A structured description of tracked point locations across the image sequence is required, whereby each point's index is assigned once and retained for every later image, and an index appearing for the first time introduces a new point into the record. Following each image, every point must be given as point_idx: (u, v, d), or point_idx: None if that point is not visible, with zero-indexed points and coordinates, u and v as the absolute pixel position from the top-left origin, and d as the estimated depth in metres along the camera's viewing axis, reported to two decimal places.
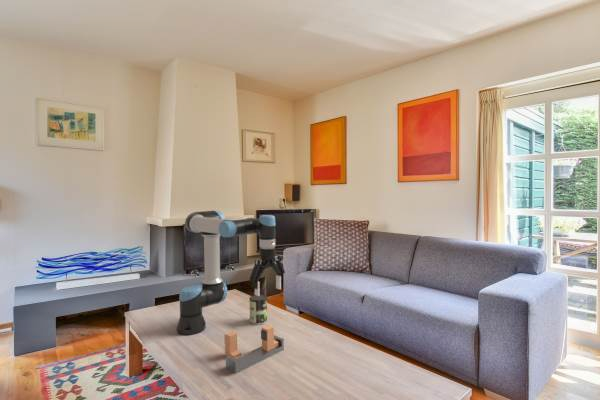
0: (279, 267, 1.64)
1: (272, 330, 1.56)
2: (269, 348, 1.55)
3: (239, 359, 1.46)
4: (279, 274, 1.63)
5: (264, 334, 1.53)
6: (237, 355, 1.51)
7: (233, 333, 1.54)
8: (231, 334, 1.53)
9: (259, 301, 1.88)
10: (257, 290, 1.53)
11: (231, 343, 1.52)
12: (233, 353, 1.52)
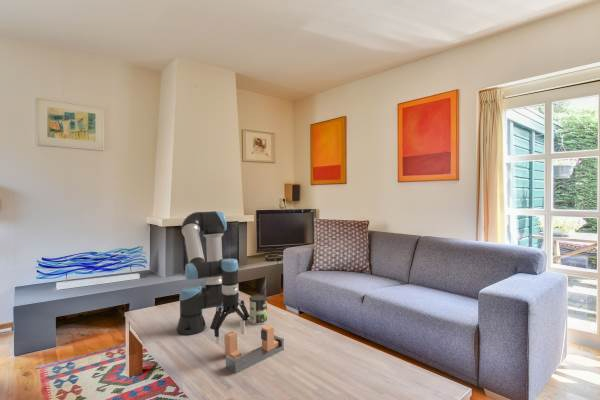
0: (243, 311, 1.59)
1: (272, 330, 1.56)
2: (269, 348, 1.55)
3: (239, 359, 1.46)
4: (243, 319, 1.59)
5: (264, 334, 1.53)
6: (237, 355, 1.51)
7: (233, 333, 1.54)
8: (231, 334, 1.53)
9: (259, 301, 1.88)
10: (218, 338, 1.48)
11: (231, 343, 1.52)
12: (233, 353, 1.52)
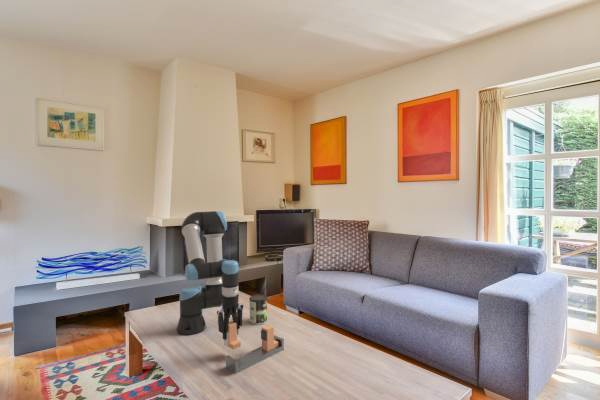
0: (238, 317, 1.58)
1: (272, 330, 1.56)
2: (269, 348, 1.55)
3: (239, 359, 1.46)
4: None
5: (264, 334, 1.53)
6: (236, 344, 1.52)
7: (233, 323, 1.55)
8: (231, 324, 1.54)
9: (259, 301, 1.88)
10: (226, 341, 1.52)
11: (231, 332, 1.53)
12: (232, 342, 1.52)
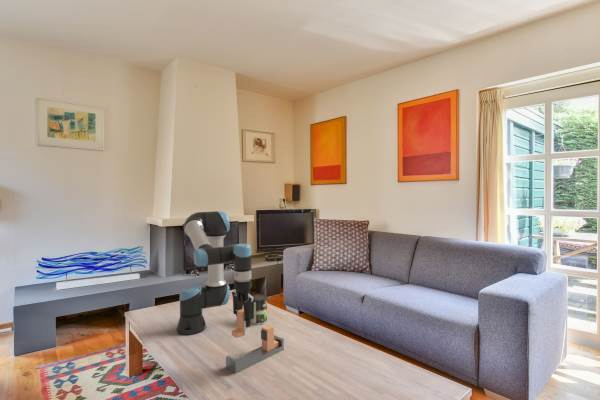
0: None
1: (272, 330, 1.56)
2: (269, 348, 1.55)
3: (239, 359, 1.46)
4: None
5: (264, 334, 1.53)
6: (234, 333, 1.42)
7: (243, 311, 1.44)
8: (241, 310, 1.45)
9: (259, 301, 1.88)
10: None
11: (238, 318, 1.45)
12: (236, 330, 1.44)
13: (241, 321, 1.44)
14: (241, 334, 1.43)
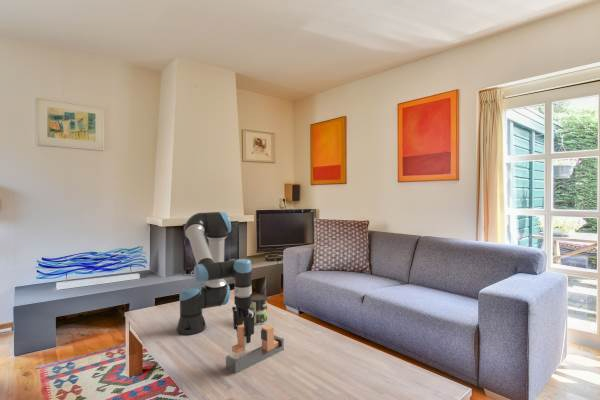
0: None
1: (272, 330, 1.56)
2: (269, 348, 1.55)
3: (239, 359, 1.46)
4: None
5: (264, 334, 1.53)
6: (234, 349, 1.42)
7: (243, 327, 1.45)
8: (241, 326, 1.45)
9: (259, 301, 1.88)
10: None
11: (238, 334, 1.45)
12: (237, 345, 1.44)
13: (241, 337, 1.44)
14: (241, 350, 1.43)
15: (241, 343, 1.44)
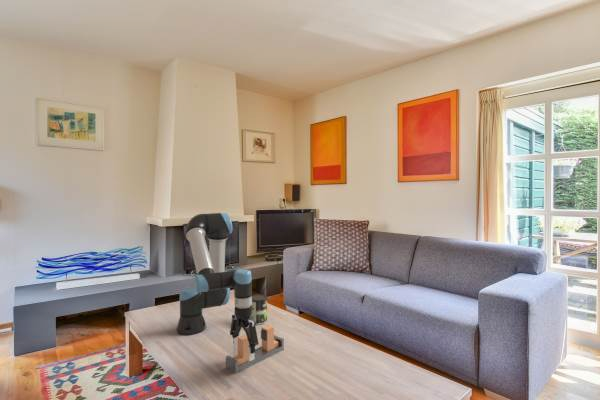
0: None
1: (272, 330, 1.56)
2: (269, 348, 1.55)
3: None
4: None
5: (264, 334, 1.53)
6: None
7: (243, 338, 1.45)
8: (241, 337, 1.46)
9: (259, 301, 1.88)
10: None
11: (238, 345, 1.45)
12: (237, 356, 1.45)
13: (241, 348, 1.44)
14: (241, 361, 1.43)
15: (241, 354, 1.44)
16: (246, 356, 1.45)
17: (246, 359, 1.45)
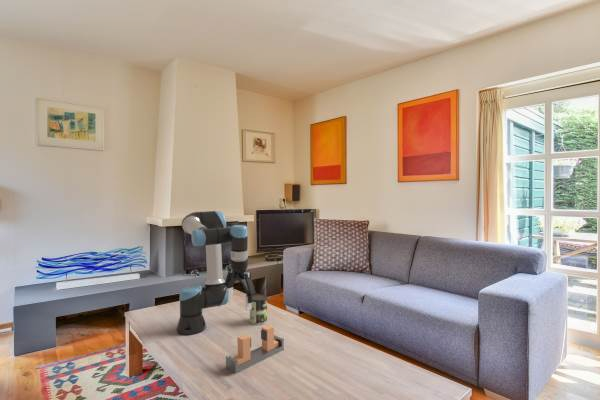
0: None
1: (272, 330, 1.56)
2: (269, 348, 1.55)
3: None
4: None
5: (264, 334, 1.53)
6: None
7: (243, 338, 1.45)
8: (241, 337, 1.46)
9: (259, 301, 1.88)
10: None
11: (238, 345, 1.45)
12: (237, 356, 1.45)
13: (241, 348, 1.44)
14: (241, 361, 1.43)
15: (241, 354, 1.44)
16: (246, 356, 1.45)
17: (246, 359, 1.45)
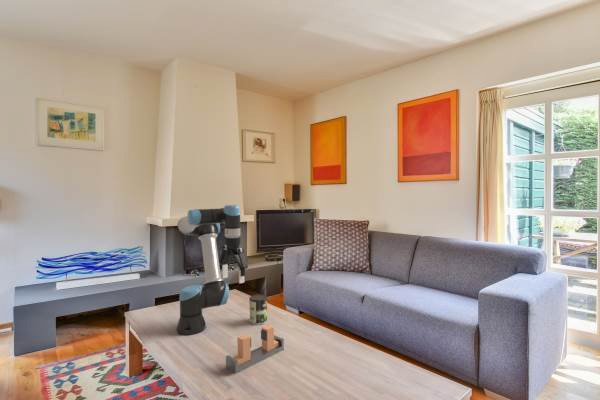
0: None
1: (272, 330, 1.56)
2: (269, 348, 1.55)
3: None
4: None
5: (264, 334, 1.53)
6: None
7: (243, 338, 1.45)
8: (241, 337, 1.46)
9: (259, 301, 1.88)
10: None
11: (238, 345, 1.45)
12: (237, 356, 1.45)
13: (241, 348, 1.44)
14: (241, 361, 1.43)
15: (241, 354, 1.44)
16: (246, 356, 1.45)
17: (246, 359, 1.45)
